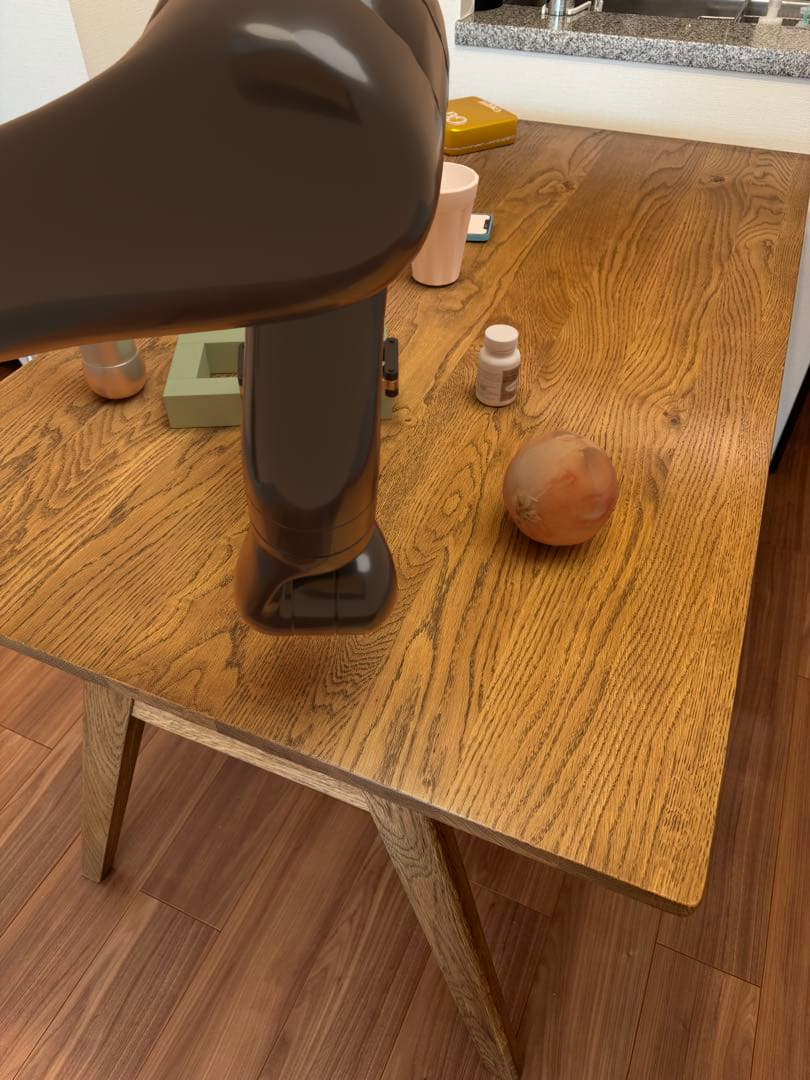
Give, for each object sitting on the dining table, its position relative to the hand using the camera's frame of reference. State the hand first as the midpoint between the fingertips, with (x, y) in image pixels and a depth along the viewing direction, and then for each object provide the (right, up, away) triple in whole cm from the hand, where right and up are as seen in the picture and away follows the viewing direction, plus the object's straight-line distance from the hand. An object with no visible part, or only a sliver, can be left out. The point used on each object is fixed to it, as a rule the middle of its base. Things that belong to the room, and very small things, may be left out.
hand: (320, 326), depth 74 cm
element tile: (+19, +53, +69) cm, 89 cm away
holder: (-5, -4, +12) cm, 14 cm away
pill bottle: (+18, -5, +11) cm, 22 cm away
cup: (+12, +15, +31) cm, 36 cm away
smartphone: (+13, +25, +41) cm, 50 cm away
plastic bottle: (-23, -4, +12) cm, 26 cm away
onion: (+21, -19, -4) cm, 29 cm away
